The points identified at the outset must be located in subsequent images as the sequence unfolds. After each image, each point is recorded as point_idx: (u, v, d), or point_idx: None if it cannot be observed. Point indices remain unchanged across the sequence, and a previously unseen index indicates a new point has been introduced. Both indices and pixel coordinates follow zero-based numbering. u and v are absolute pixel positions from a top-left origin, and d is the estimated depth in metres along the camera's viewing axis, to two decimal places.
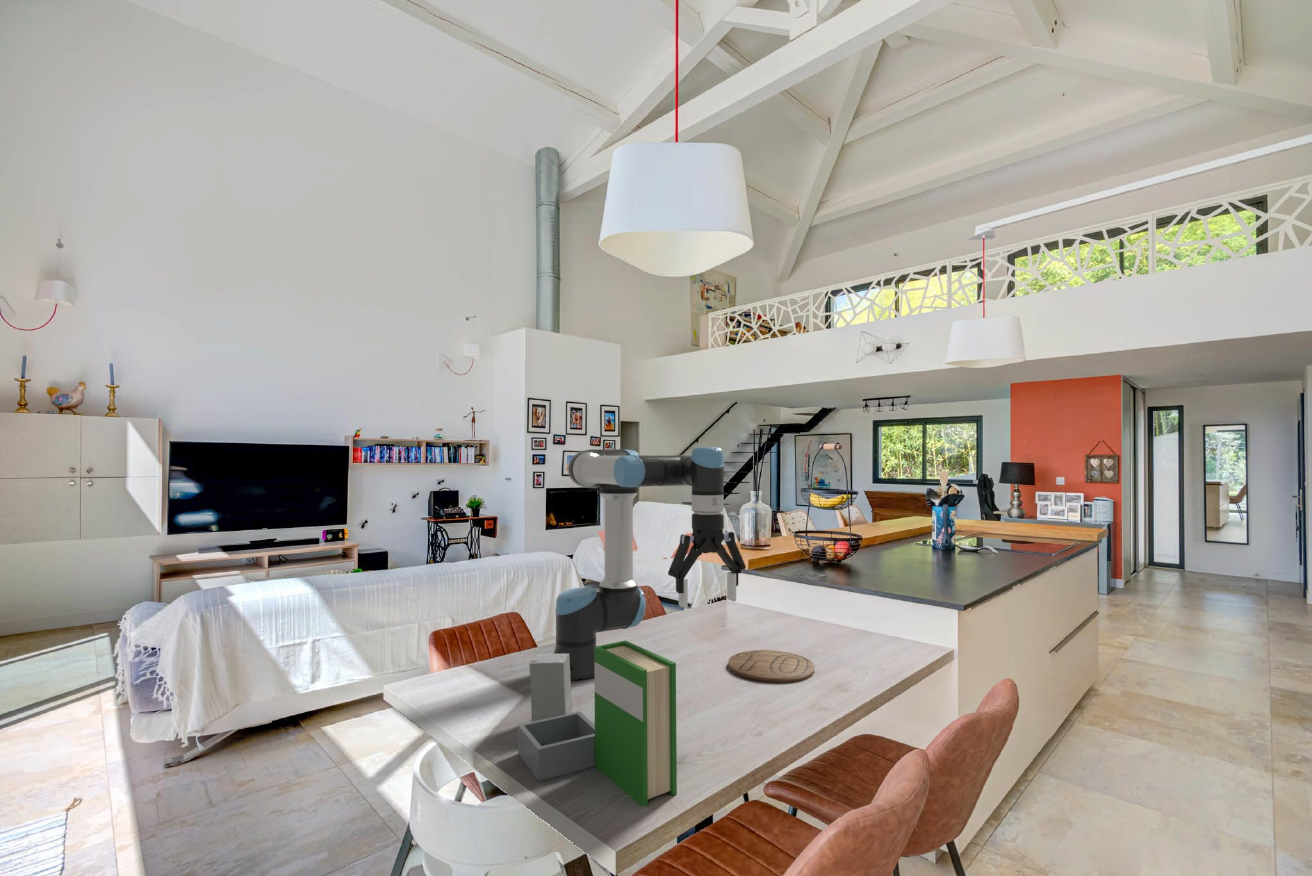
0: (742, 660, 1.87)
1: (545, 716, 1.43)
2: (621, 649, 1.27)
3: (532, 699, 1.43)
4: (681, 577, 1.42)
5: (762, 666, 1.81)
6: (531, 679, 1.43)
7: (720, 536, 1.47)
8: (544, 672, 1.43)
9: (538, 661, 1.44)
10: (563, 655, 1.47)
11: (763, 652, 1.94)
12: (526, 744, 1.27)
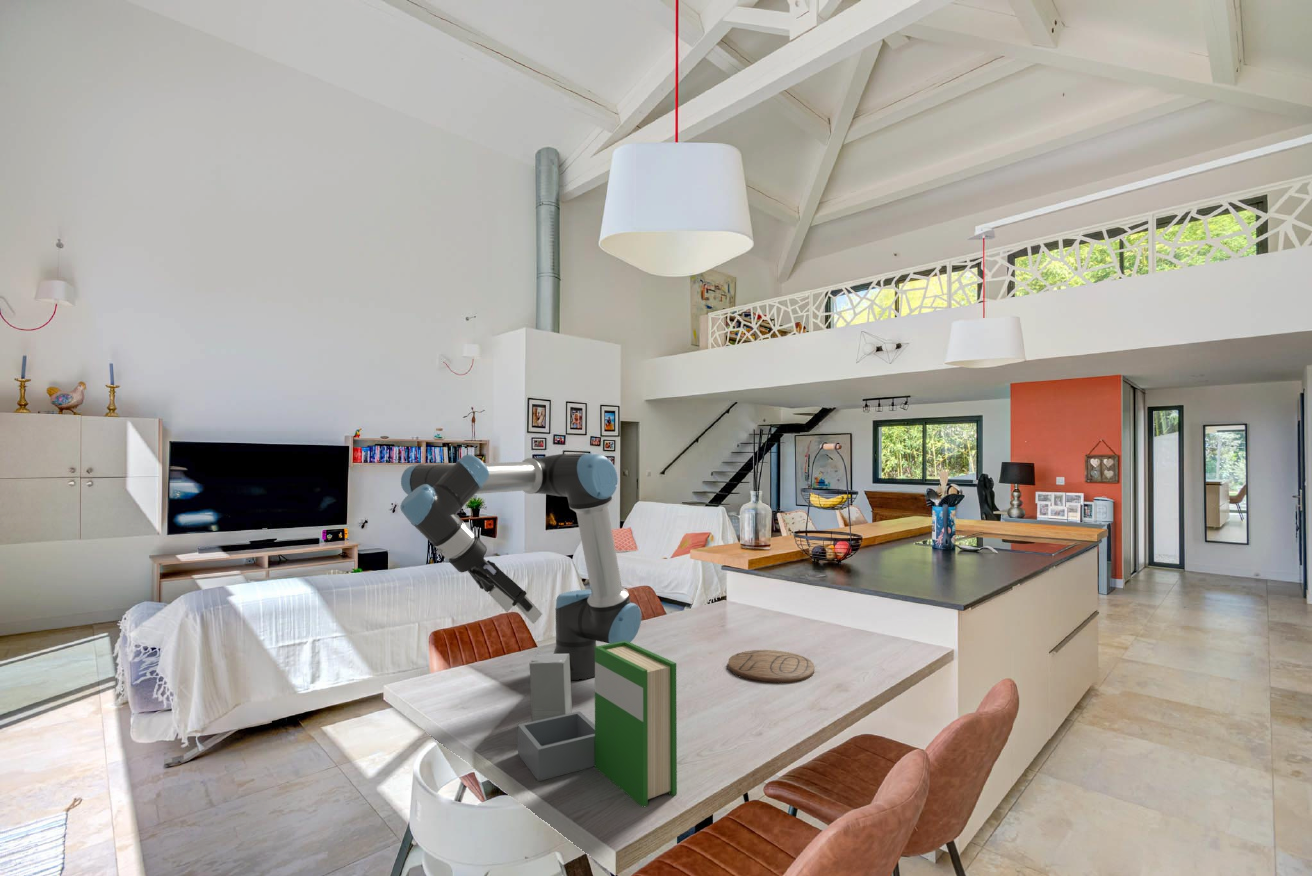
0: (742, 660, 1.87)
1: (545, 716, 1.43)
2: (621, 649, 1.27)
3: (532, 699, 1.43)
4: None
5: (762, 666, 1.81)
6: (531, 679, 1.43)
7: (480, 571, 1.32)
8: (544, 672, 1.43)
9: (538, 661, 1.44)
10: (563, 655, 1.47)
11: (763, 652, 1.94)
12: (526, 744, 1.27)
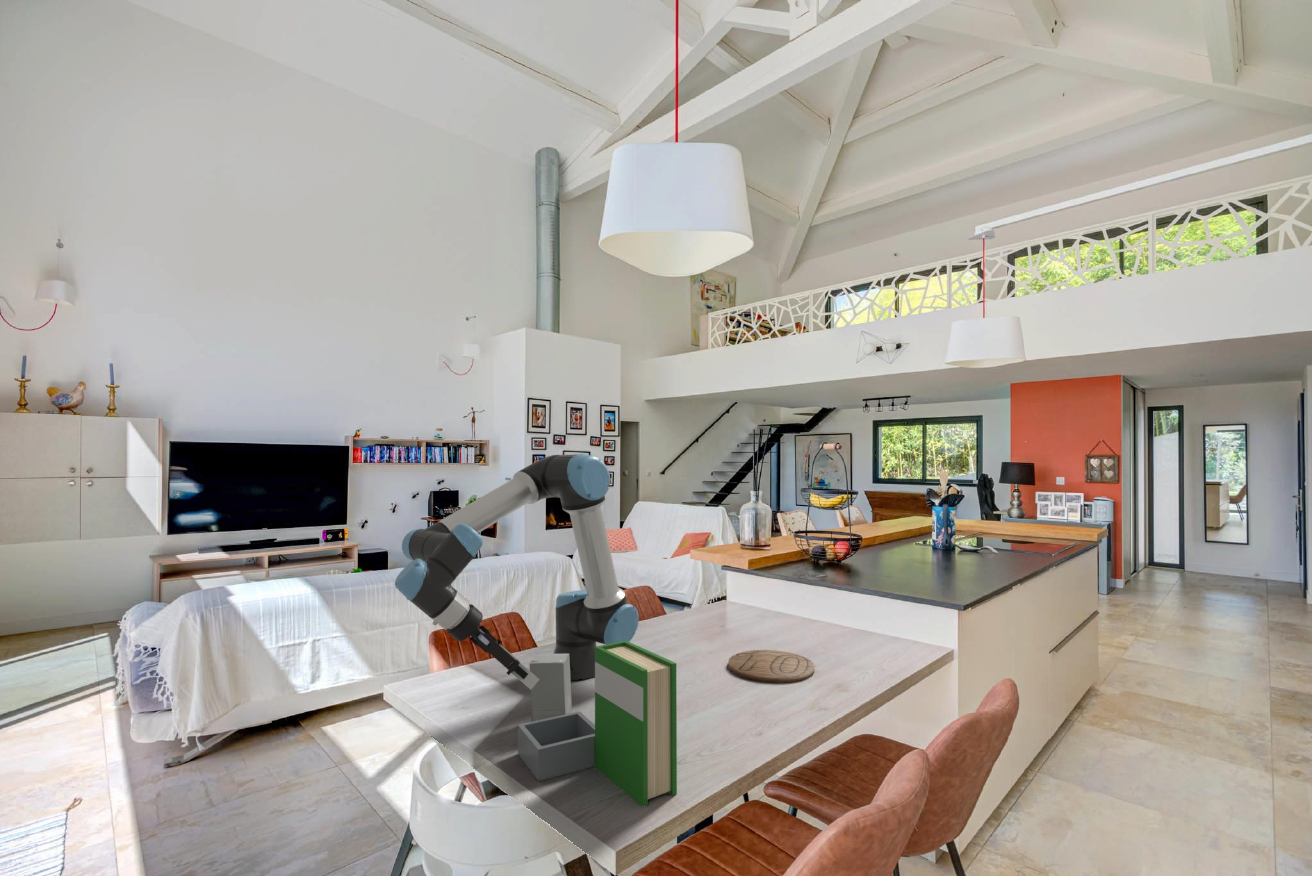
0: (742, 660, 1.87)
1: (545, 716, 1.43)
2: (621, 649, 1.27)
3: (532, 699, 1.43)
4: None
5: (762, 666, 1.81)
6: None
7: (476, 640, 1.35)
8: (544, 672, 1.43)
9: (538, 661, 1.44)
10: (563, 655, 1.47)
11: (763, 652, 1.94)
12: (526, 744, 1.27)
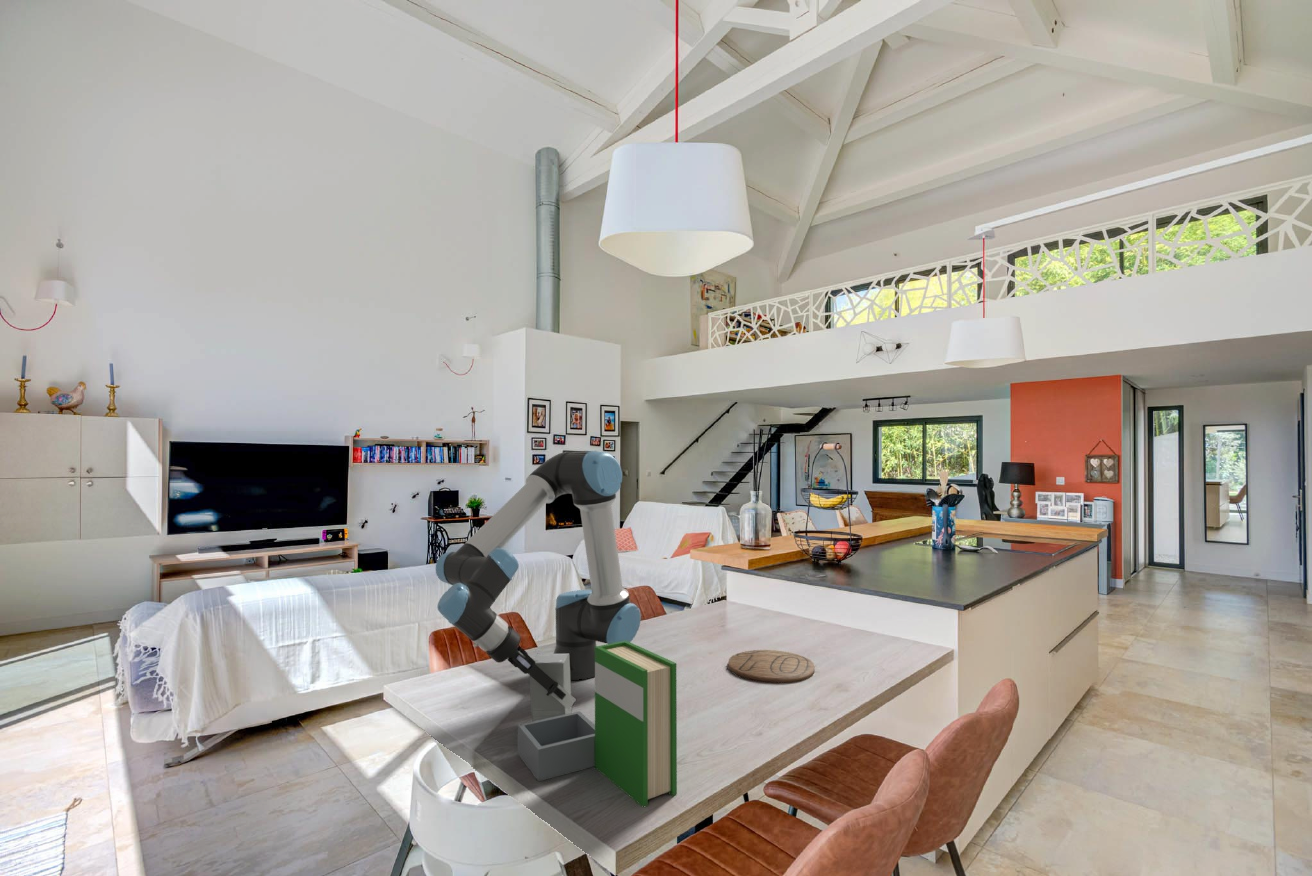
0: (742, 660, 1.87)
1: (545, 716, 1.43)
2: (621, 649, 1.27)
3: (532, 699, 1.43)
4: None
5: (762, 666, 1.81)
6: (531, 679, 1.43)
7: (514, 661, 1.39)
8: None
9: (538, 661, 1.44)
10: (563, 655, 1.47)
11: (763, 652, 1.94)
12: (526, 744, 1.27)
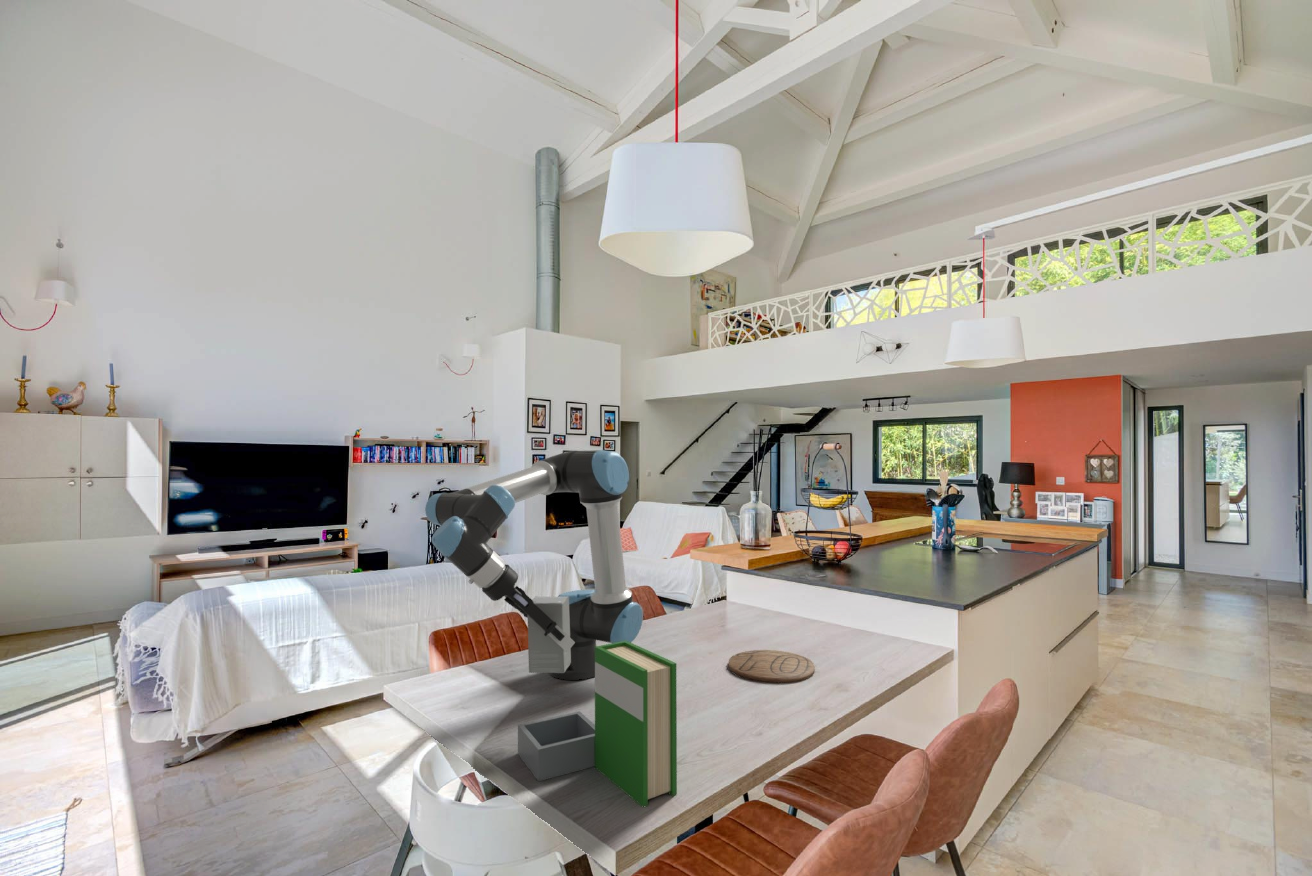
0: (742, 660, 1.87)
1: (543, 659, 1.37)
2: (621, 649, 1.27)
3: (529, 641, 1.38)
4: None
5: (762, 666, 1.81)
6: (528, 620, 1.38)
7: (511, 599, 1.33)
8: None
9: (536, 602, 1.38)
10: (562, 597, 1.41)
11: (763, 652, 1.94)
12: (526, 744, 1.27)
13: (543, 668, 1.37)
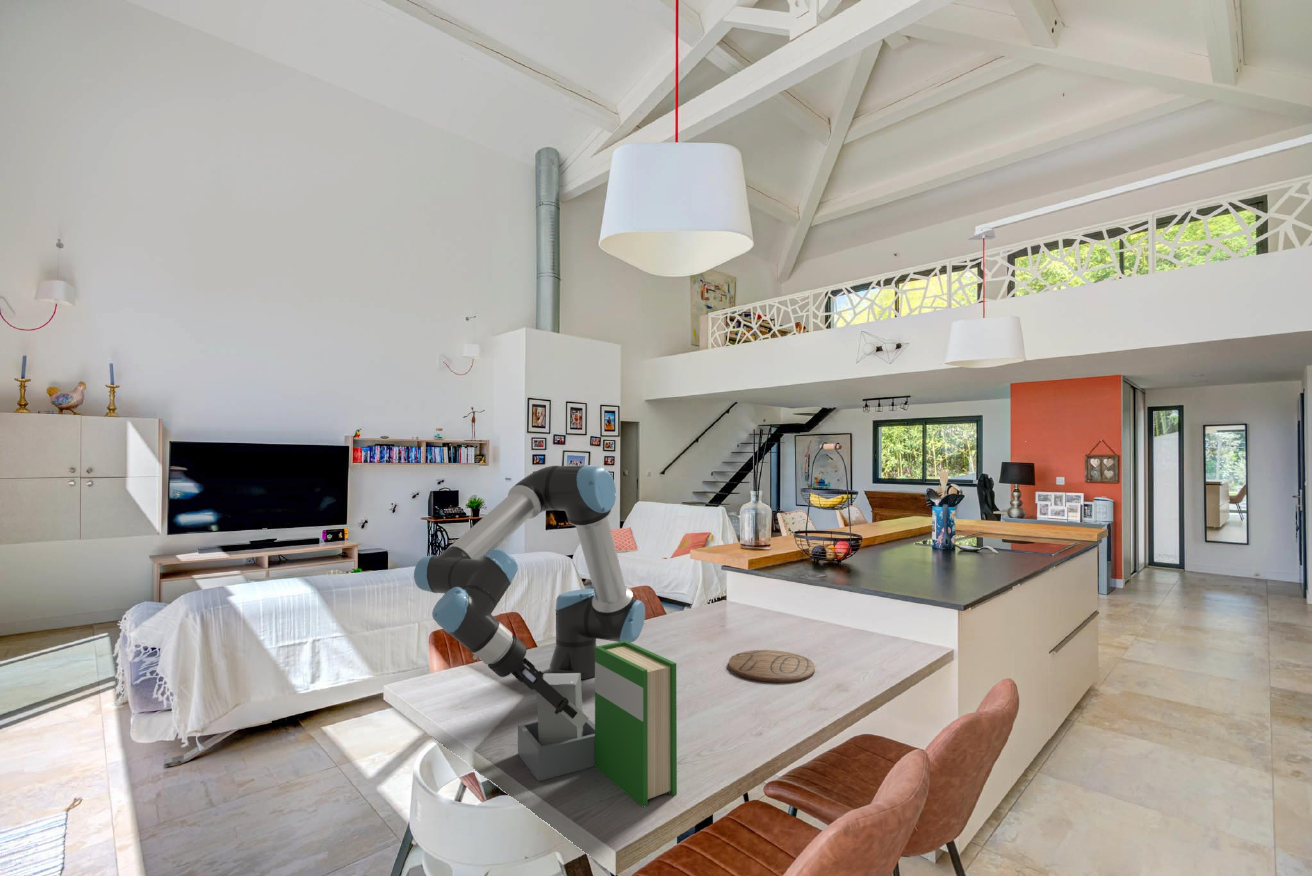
0: (742, 660, 1.87)
1: None
2: (621, 649, 1.27)
3: (539, 726, 1.27)
4: None
5: (762, 666, 1.81)
6: (538, 703, 1.27)
7: None
8: None
9: None
10: (574, 675, 1.31)
11: (763, 652, 1.94)
12: (526, 744, 1.27)
13: None
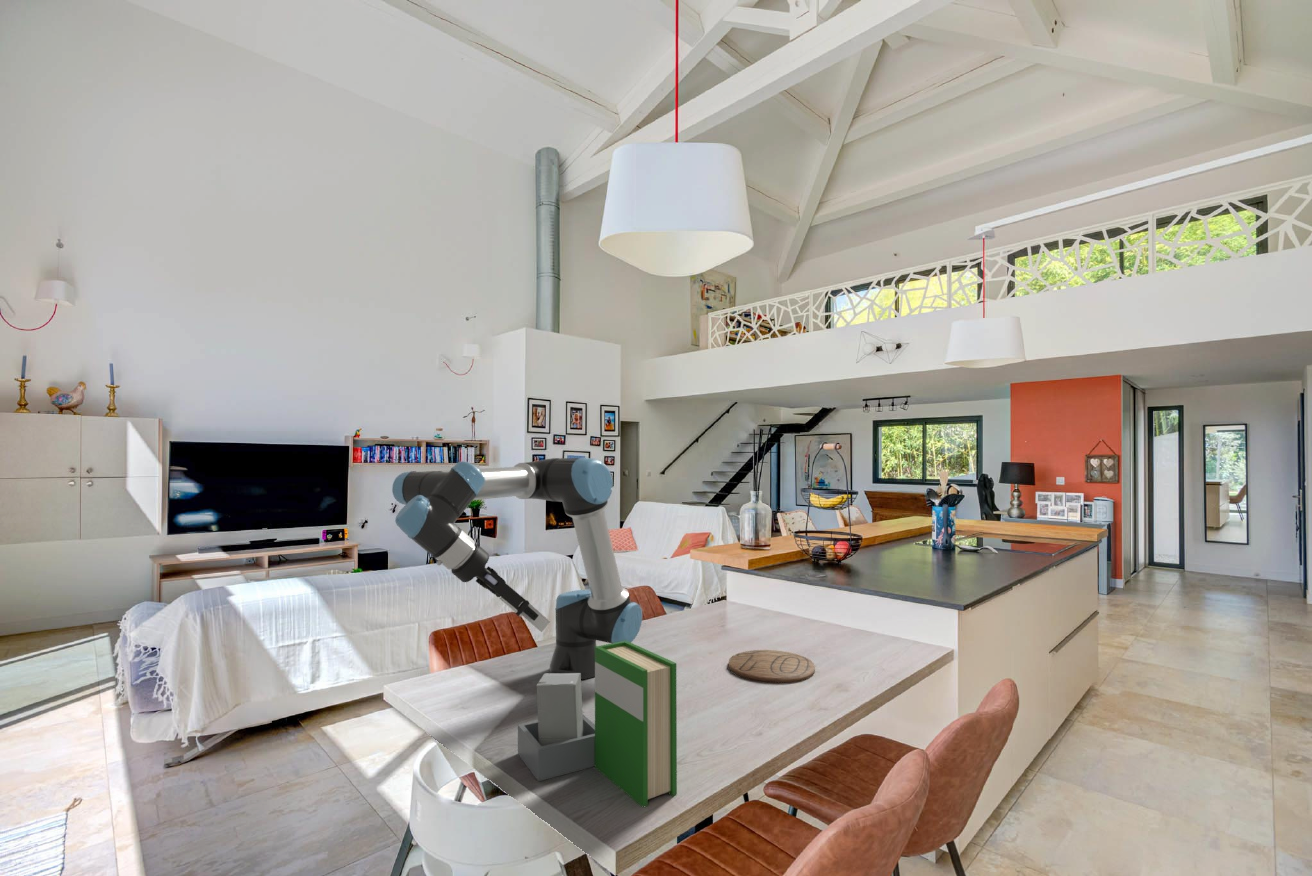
0: (742, 660, 1.87)
1: None
2: (621, 649, 1.27)
3: (539, 726, 1.27)
4: None
5: (762, 666, 1.81)
6: (538, 703, 1.27)
7: (482, 580, 1.28)
8: (553, 695, 1.26)
9: (547, 683, 1.27)
10: (574, 675, 1.31)
11: (763, 652, 1.94)
12: (526, 744, 1.27)
13: None
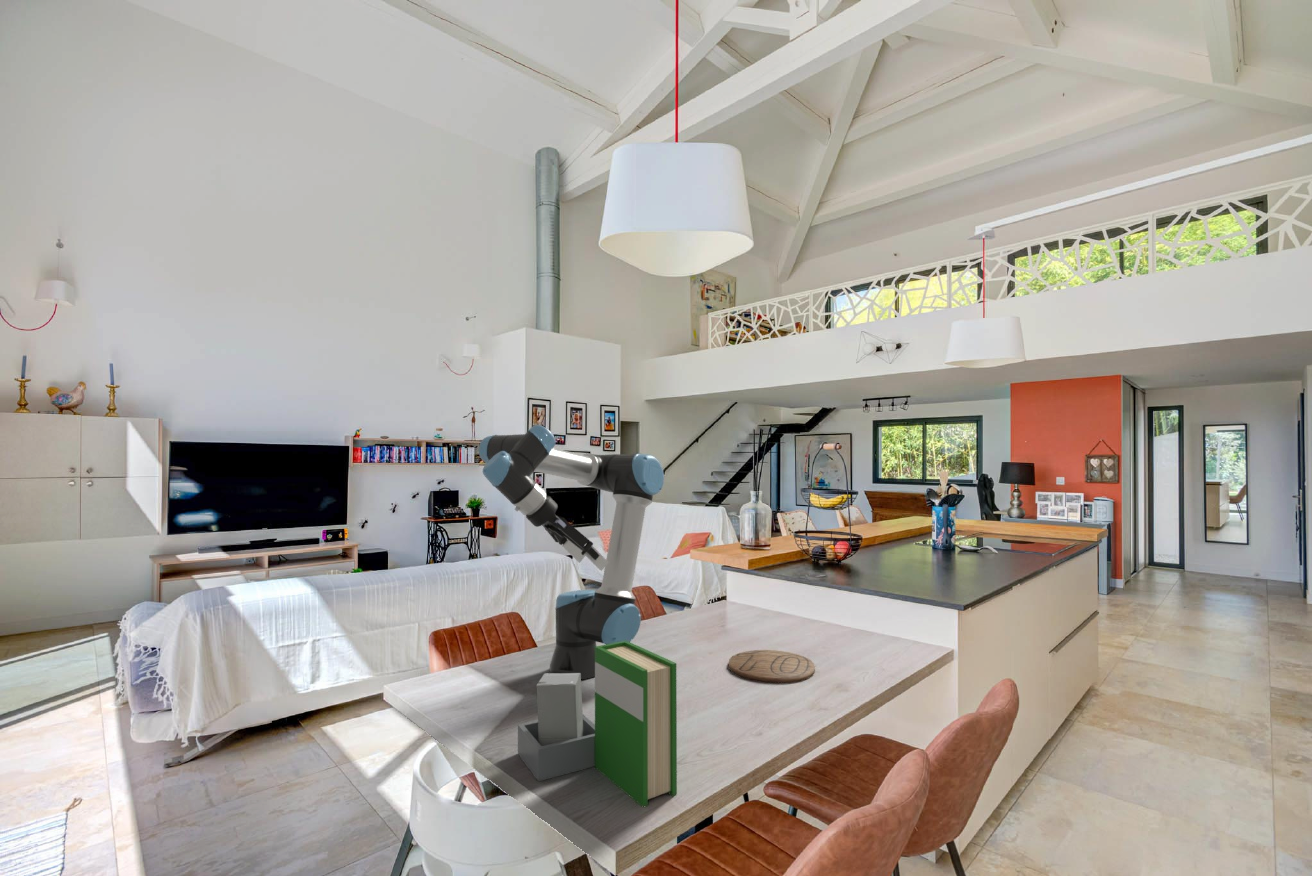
0: (742, 660, 1.87)
1: None
2: (621, 649, 1.27)
3: (539, 726, 1.27)
4: None
5: (762, 666, 1.81)
6: (538, 703, 1.27)
7: (552, 525, 1.51)
8: (553, 695, 1.26)
9: (547, 683, 1.27)
10: (574, 675, 1.31)
11: (764, 652, 1.94)
12: (526, 744, 1.27)
13: None
